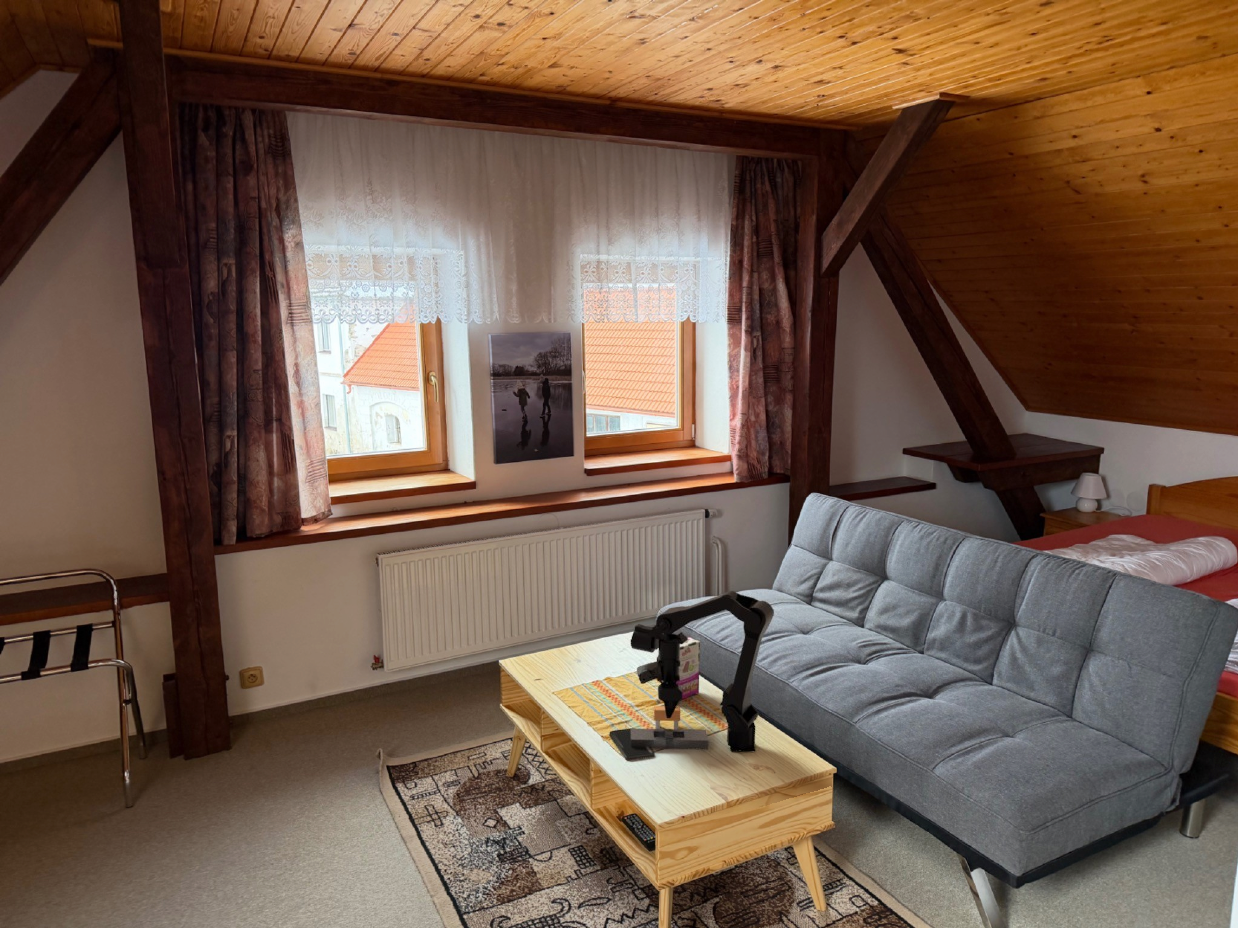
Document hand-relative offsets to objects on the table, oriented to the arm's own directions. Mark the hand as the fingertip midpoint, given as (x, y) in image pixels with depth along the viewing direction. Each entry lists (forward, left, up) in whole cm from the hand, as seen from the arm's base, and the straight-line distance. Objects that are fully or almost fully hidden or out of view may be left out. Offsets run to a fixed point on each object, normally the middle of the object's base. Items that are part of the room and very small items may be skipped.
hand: (667, 709), depth 242 cm
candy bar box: (-5, -20, -5) cm, 21 cm away
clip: (0, 0, -5) cm, 5 cm away
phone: (+10, +10, -6) cm, 15 cm away
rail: (0, +9, -5) cm, 10 cm away
